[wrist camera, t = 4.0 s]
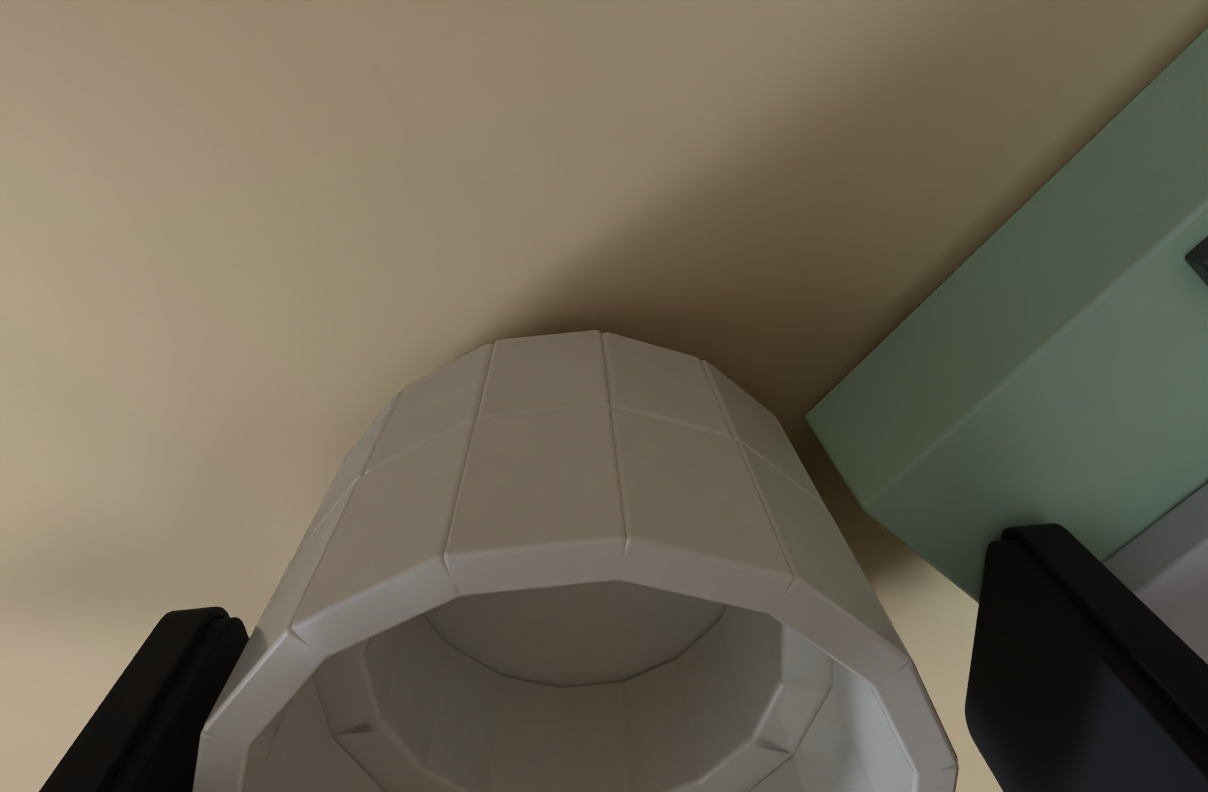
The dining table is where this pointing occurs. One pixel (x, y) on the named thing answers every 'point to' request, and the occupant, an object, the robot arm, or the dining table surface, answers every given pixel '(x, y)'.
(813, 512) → the bowl
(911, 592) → the dining table surface
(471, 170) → the dining table surface
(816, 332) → the dining table surface
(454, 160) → the dining table surface
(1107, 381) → the scale
